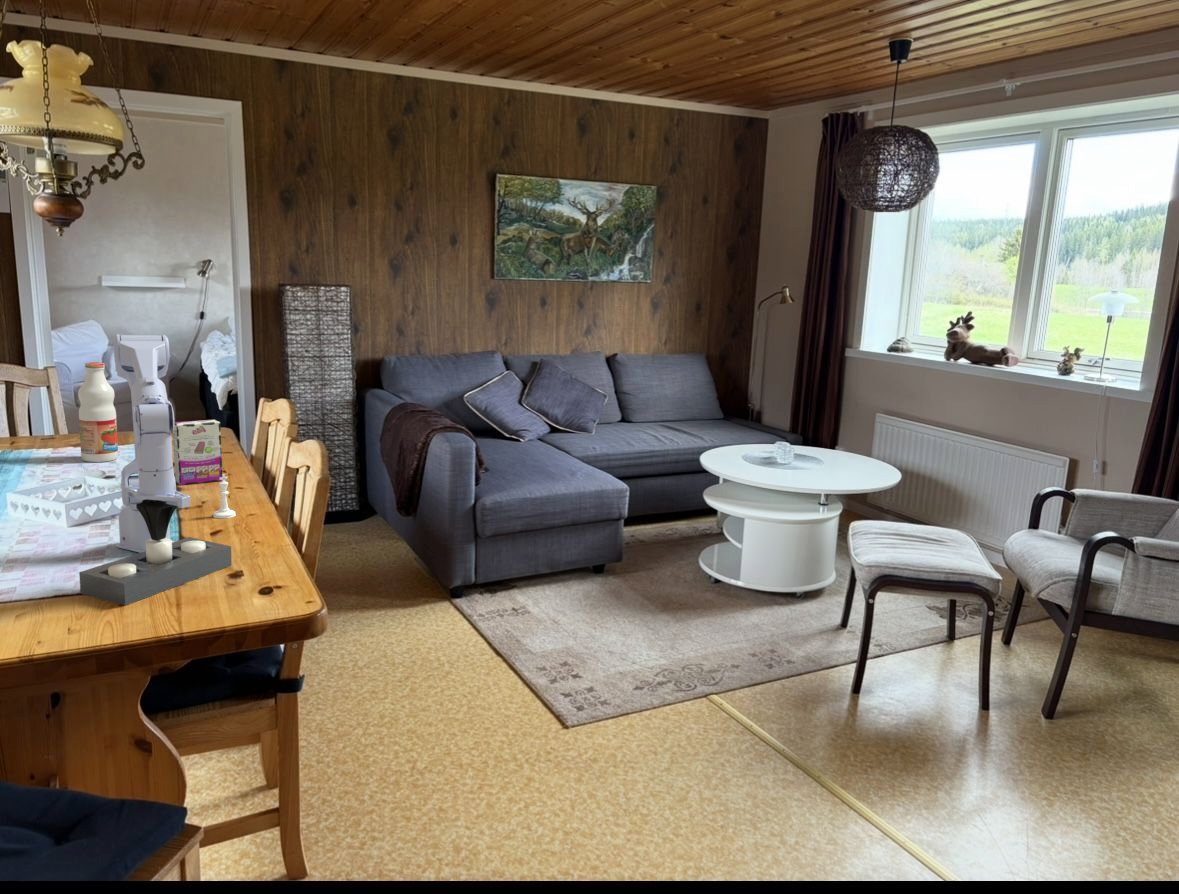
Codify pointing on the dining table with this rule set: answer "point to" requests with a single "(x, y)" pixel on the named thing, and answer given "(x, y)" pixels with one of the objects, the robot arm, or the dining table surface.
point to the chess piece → (224, 501)
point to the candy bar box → (197, 451)
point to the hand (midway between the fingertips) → (158, 538)
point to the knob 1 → (121, 570)
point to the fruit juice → (97, 416)
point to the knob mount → (154, 573)
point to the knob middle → (158, 551)
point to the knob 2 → (193, 546)
